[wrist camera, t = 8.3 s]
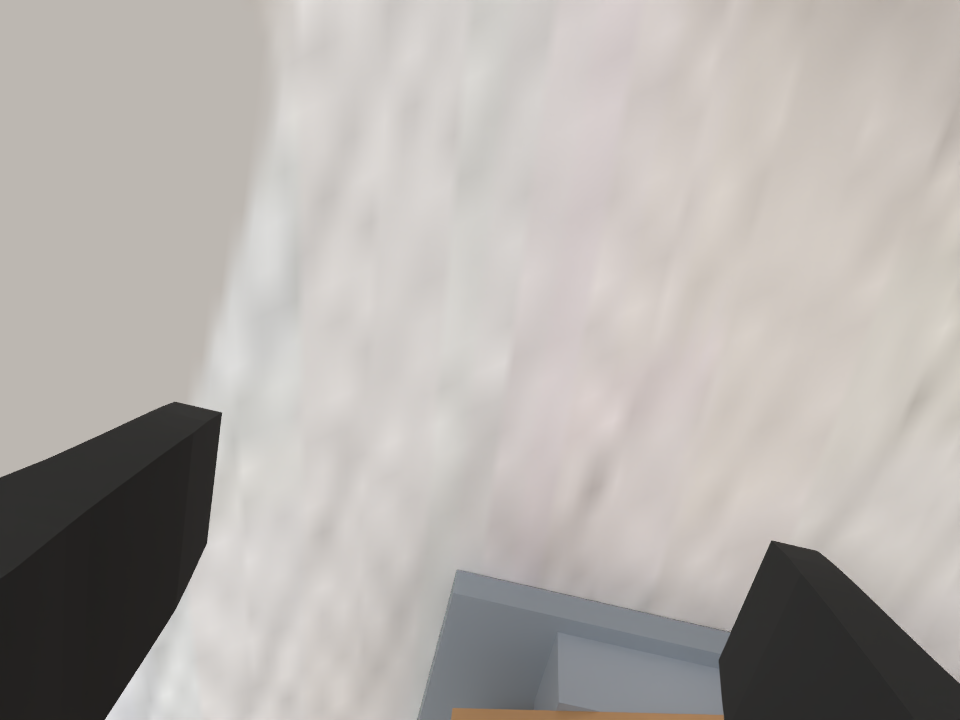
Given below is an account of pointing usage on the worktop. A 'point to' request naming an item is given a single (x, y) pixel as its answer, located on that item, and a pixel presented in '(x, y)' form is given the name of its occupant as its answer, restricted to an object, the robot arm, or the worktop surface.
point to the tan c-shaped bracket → (568, 715)
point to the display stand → (566, 655)
